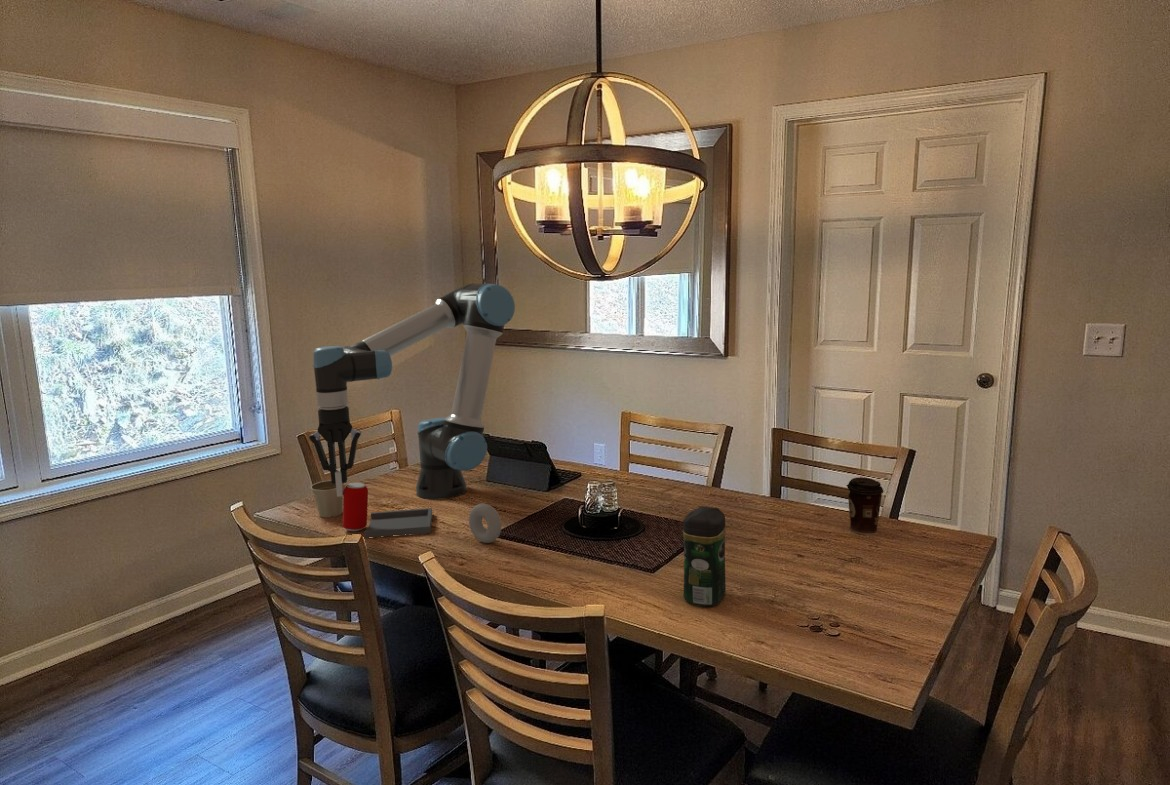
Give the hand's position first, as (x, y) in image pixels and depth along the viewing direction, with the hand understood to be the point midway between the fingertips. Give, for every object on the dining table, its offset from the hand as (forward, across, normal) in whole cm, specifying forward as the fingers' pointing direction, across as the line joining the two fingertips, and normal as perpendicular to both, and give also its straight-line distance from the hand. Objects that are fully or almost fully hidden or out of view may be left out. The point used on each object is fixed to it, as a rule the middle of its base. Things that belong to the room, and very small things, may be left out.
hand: (340, 494), depth 190 cm
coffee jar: (+10, -80, +58) cm, 99 cm away
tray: (+10, -14, 0) cm, 18 cm away
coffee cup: (+10, -131, +30) cm, 135 cm away
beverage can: (+10, -3, 0) cm, 10 cm away
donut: (+10, -37, +17) cm, 42 cm away
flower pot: (+10, +6, -14) cm, 19 cm away
